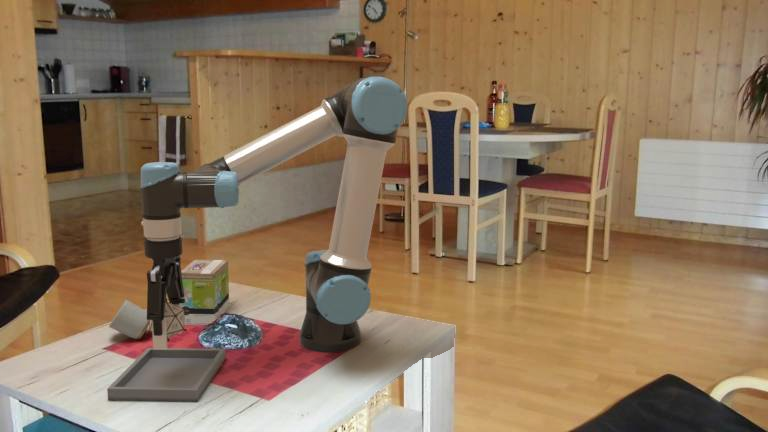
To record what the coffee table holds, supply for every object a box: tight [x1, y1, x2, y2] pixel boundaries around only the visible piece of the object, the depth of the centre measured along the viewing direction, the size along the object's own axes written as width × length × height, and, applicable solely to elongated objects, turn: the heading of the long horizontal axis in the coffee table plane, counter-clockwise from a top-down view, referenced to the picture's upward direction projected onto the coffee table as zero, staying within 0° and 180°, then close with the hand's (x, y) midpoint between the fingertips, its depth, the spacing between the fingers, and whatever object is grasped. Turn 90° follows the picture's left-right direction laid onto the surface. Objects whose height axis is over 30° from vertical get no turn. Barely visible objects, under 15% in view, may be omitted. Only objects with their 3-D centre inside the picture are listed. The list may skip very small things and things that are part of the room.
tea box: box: [180, 259, 230, 326], centre depth 187 cm, size 15×10×15 cm
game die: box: [145, 297, 188, 343], centre depth 146 cm, size 9×8×10 cm
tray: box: [106, 347, 226, 403], centre depth 148 cm, size 18×22×2 cm
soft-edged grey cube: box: [108, 299, 150, 340], centre depth 173 cm, size 11×8×8 cm
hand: (168, 340), depth 147 cm, fingers closed on game die, 9 cm apart
